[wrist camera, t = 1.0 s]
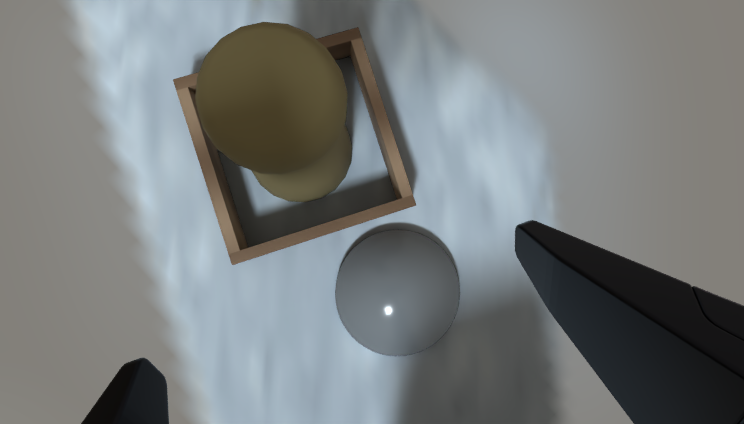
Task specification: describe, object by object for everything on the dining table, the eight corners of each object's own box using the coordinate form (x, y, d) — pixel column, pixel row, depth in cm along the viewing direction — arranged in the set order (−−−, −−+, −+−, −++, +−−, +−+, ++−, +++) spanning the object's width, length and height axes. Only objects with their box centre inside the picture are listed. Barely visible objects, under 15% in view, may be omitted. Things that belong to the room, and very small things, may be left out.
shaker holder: (409, 207, 24) (416, 205, 22) (241, 261, 23) (232, 265, 21) (356, 43, 24) (358, 27, 22) (187, 92, 23) (172, 79, 21)
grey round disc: (428, 373, 24) (430, 375, 23) (314, 324, 23) (314, 326, 23) (476, 259, 24) (478, 260, 24) (366, 210, 24) (366, 209, 23)
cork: (304, 78, 24) (274, -49, 13) (373, 155, 24) (400, 94, 13) (225, 145, 23) (123, 73, 12) (295, 223, 24) (256, 220, 13)
